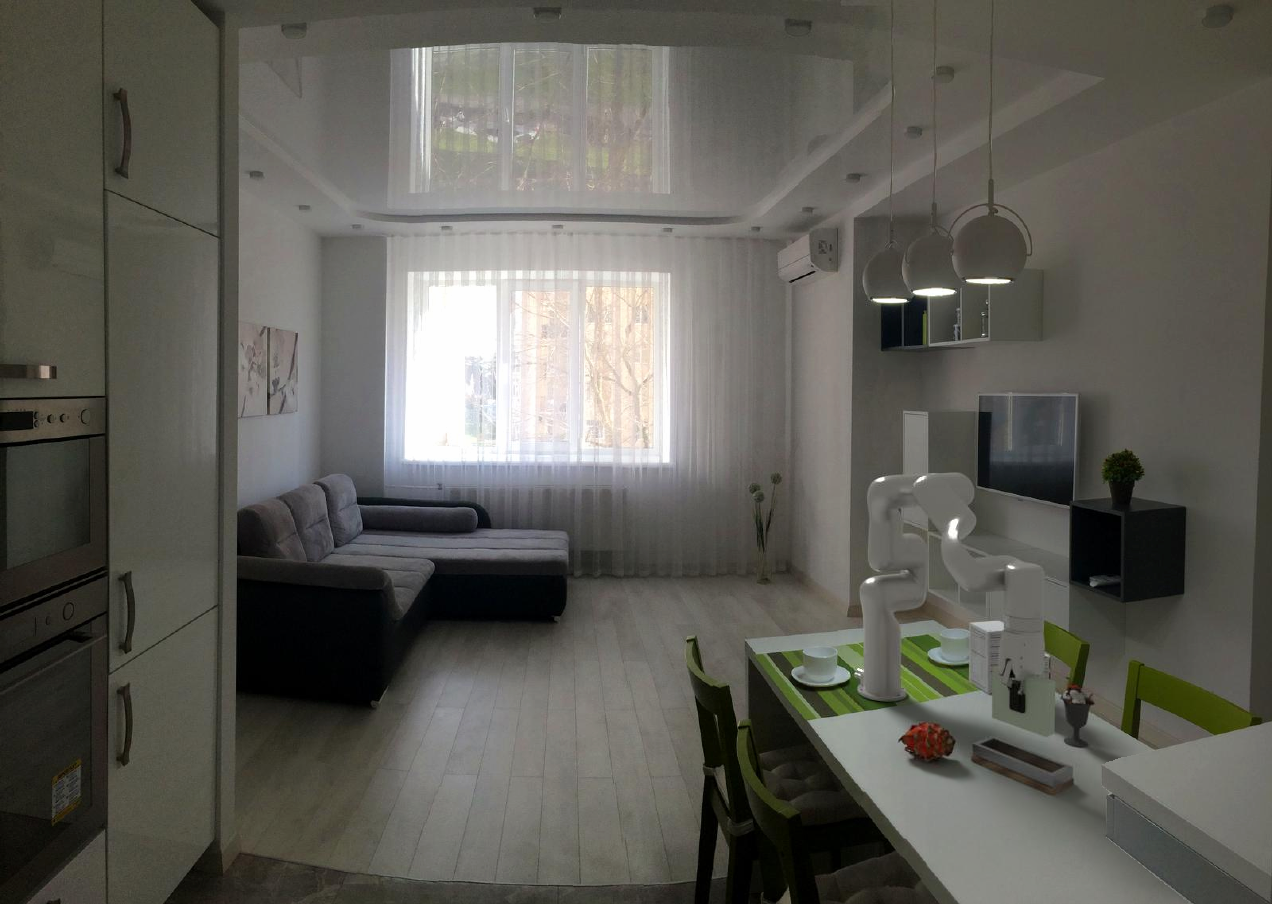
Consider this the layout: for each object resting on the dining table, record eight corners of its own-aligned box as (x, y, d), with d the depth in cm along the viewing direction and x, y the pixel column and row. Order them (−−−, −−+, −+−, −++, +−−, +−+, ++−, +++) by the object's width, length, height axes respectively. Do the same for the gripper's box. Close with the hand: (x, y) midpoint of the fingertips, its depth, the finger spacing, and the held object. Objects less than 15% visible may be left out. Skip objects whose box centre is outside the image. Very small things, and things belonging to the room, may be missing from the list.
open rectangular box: (970, 760, 174) (971, 744, 174) (993, 751, 179) (993, 735, 178) (1051, 794, 159) (1052, 776, 159) (1073, 783, 163) (1074, 766, 163)
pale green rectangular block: (992, 717, 172) (992, 667, 171) (1000, 714, 174) (1000, 664, 173) (1046, 737, 162) (1047, 684, 161) (1054, 733, 164) (1055, 680, 163)
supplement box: (1020, 692, 213) (1021, 629, 211) (988, 694, 211) (988, 631, 210) (998, 679, 222) (999, 619, 221) (967, 681, 221) (968, 621, 219)
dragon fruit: (960, 769, 174) (902, 771, 177) (954, 734, 180) (898, 736, 184) (958, 749, 169) (898, 750, 172) (951, 712, 175) (894, 715, 178)
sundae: (1052, 737, 185) (1054, 673, 184) (1080, 735, 186) (1082, 672, 184) (1070, 750, 178) (1072, 684, 177) (1099, 748, 179) (1101, 682, 178)
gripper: (1029, 612, 174) (1027, 695, 175) (983, 625, 165) (982, 712, 166) (1063, 620, 168) (1061, 706, 169) (1017, 634, 159) (1016, 724, 160)
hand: (1022, 708), depth 168 cm, fingers closed on pale green rectangular block, 3 cm apart
